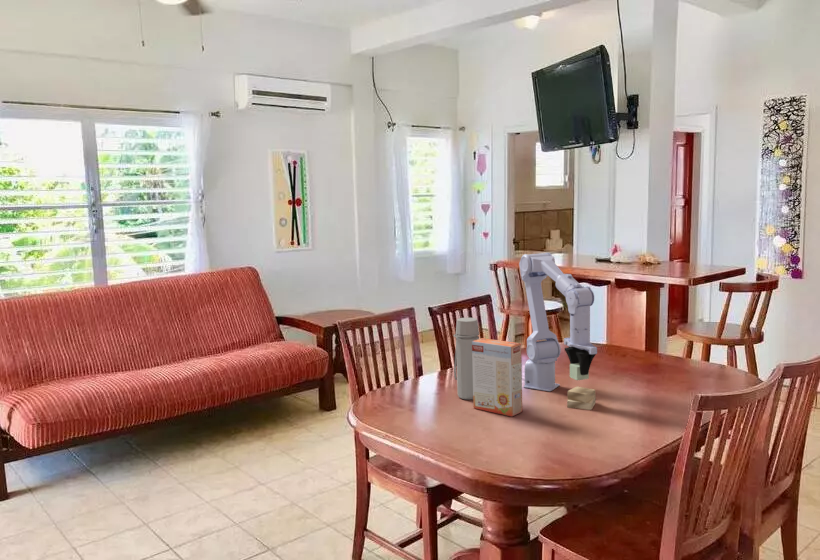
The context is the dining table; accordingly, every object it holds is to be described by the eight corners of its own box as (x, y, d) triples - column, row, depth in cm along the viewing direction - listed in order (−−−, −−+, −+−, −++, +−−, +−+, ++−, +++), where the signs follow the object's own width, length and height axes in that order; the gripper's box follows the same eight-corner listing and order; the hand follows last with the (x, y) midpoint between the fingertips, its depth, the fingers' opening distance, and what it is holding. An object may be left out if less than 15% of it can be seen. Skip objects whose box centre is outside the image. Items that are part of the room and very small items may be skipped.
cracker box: (523, 412, 197) (522, 342, 194) (512, 417, 193) (511, 346, 190) (484, 403, 206) (482, 336, 204) (472, 408, 202) (471, 340, 199)
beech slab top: (567, 399, 201) (567, 391, 201) (576, 394, 206) (576, 386, 205) (586, 402, 197) (586, 394, 197) (595, 397, 202) (595, 389, 202)
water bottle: (485, 396, 214) (484, 318, 210) (470, 402, 208) (468, 322, 205) (462, 390, 220) (461, 315, 217) (447, 396, 214) (445, 319, 211)
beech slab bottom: (567, 409, 200) (567, 400, 200) (572, 402, 206) (572, 394, 206) (591, 411, 197) (591, 403, 197) (595, 404, 203) (595, 396, 203)
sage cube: (569, 377, 202) (569, 364, 202) (581, 375, 203) (581, 362, 203) (577, 380, 198) (577, 367, 198) (588, 378, 200) (588, 365, 199)
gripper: (555, 325, 204) (555, 368, 206) (582, 334, 191) (582, 380, 193) (575, 322, 207) (575, 365, 208) (603, 331, 193) (603, 377, 195)
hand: (580, 372), depth 201 cm, fingers closed on sage cube, 4 cm apart
